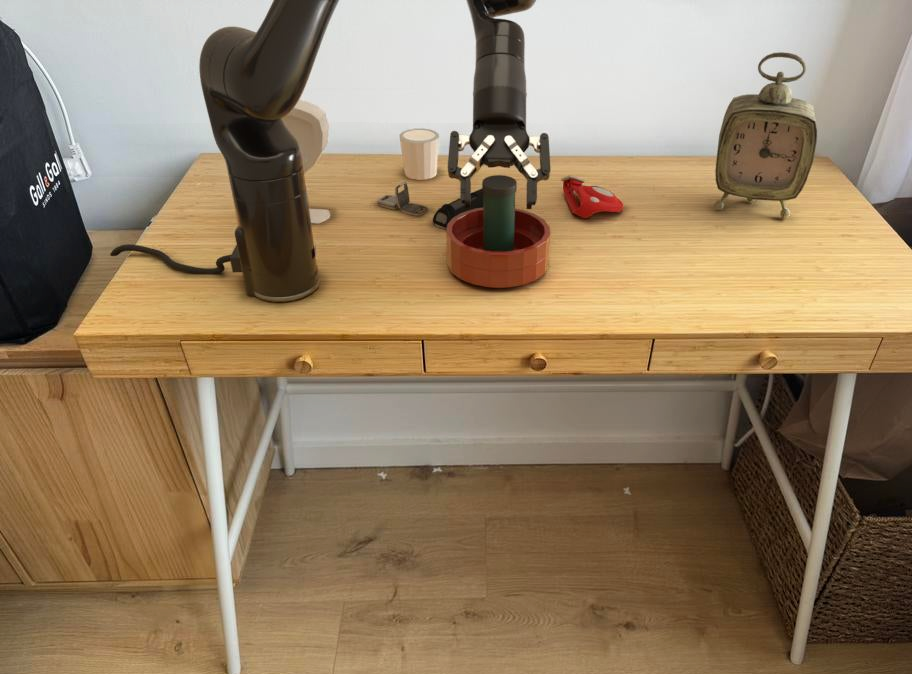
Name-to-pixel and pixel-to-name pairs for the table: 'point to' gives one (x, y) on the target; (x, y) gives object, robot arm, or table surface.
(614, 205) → the tracker holder
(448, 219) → the electric trimmer
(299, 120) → the heart sculpture
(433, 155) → the shot glass
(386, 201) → the strap clip
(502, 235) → the tube
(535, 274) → the bowl
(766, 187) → the tabletop clock
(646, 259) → the table surface
